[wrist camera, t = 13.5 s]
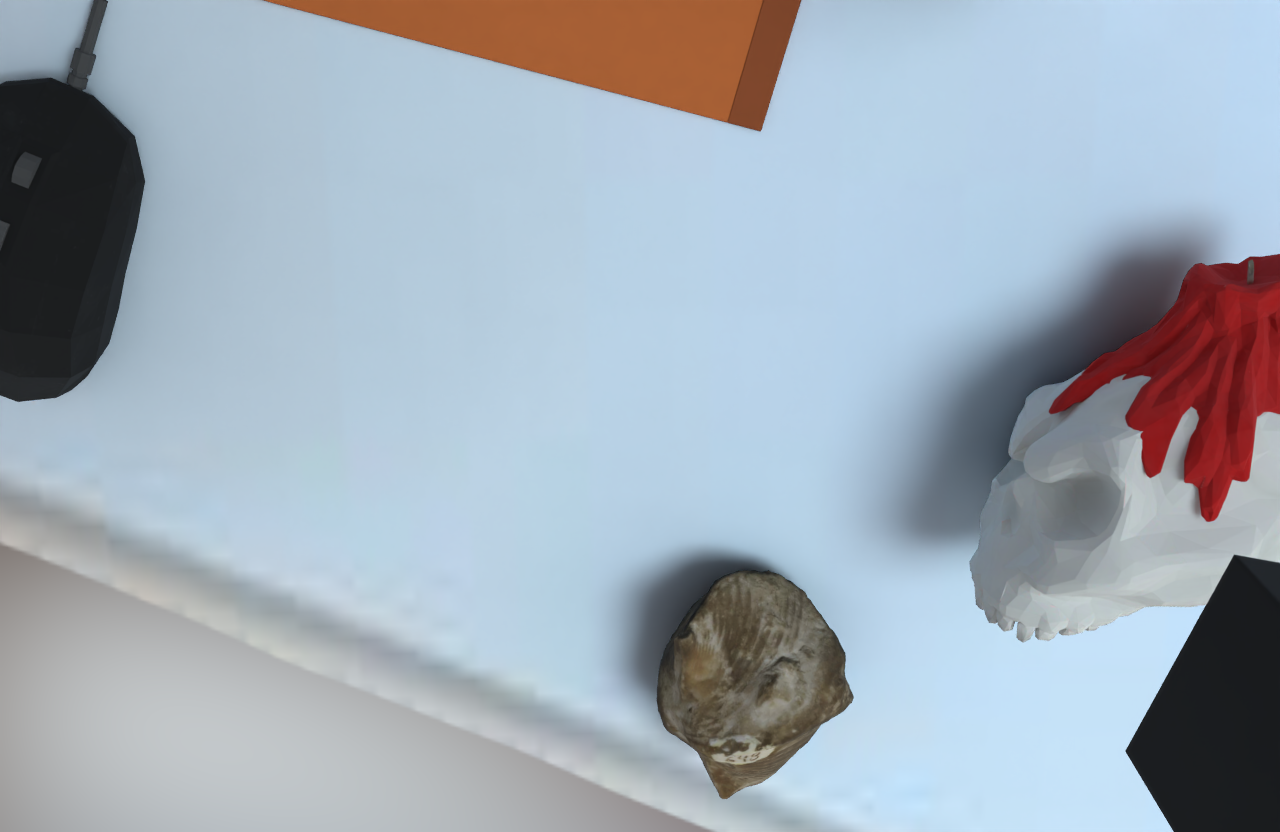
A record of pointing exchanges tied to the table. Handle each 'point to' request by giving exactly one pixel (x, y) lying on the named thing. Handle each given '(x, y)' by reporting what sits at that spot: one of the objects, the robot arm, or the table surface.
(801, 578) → the table surface
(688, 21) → the orange brown rectangular board
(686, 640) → the fossilized seashell
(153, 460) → the table surface
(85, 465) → the table surface
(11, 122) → the gaming mouse
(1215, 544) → the candle
